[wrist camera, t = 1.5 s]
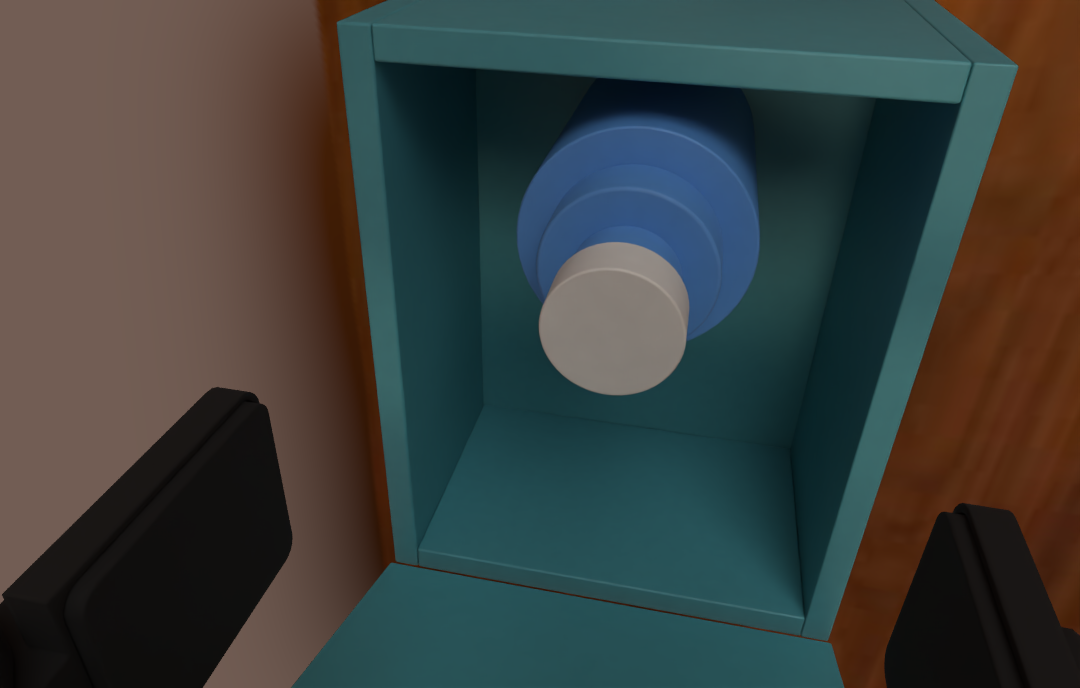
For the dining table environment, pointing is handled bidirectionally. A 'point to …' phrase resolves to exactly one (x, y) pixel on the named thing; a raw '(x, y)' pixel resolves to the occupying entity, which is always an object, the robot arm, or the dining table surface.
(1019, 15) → the dining table surface
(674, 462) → the teal wooden box
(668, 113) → the bottle
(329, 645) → the lid
